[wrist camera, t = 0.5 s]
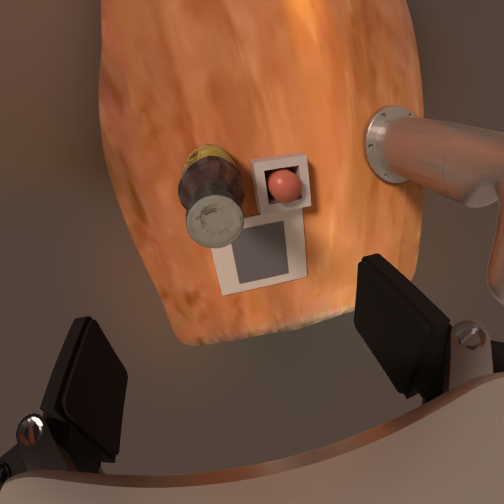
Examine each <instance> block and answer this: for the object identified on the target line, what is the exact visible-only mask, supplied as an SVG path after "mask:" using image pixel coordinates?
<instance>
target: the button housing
mask: <svg viewBox="0 0 504 504" xmlns="http://www.w3.org/2000/svg"><path fill="white" fill-rule="evenodd" d="M250 166H251V173H252V179H253V186H254V192H255V199H256V205H257V209H258V211H259V213H260V214H261V215H265V214H270V213H275V212H280V211H286V210H291V209H297V208H302V207H308V206H311V196H310V184H309V173H308V163H307V155H305V154H302V153H300V152H299V153H291V154H284V155H277V156H270V157H264V158H258V159H252V160H250ZM291 166H293V173H294V174H296V175H297V176H298V177H299V178H300V180H301V182H302V192H301V194H300V196H299V197H298V198H297V199H296V200H295V201H293V202H291V203H281V202H279V201H277V200H276V199H275V198H274V197H271V198H268V195H267V188H266V181H265V174H264V171H266V170H272V169H278V168H285V167H291Z"/></svg>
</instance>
